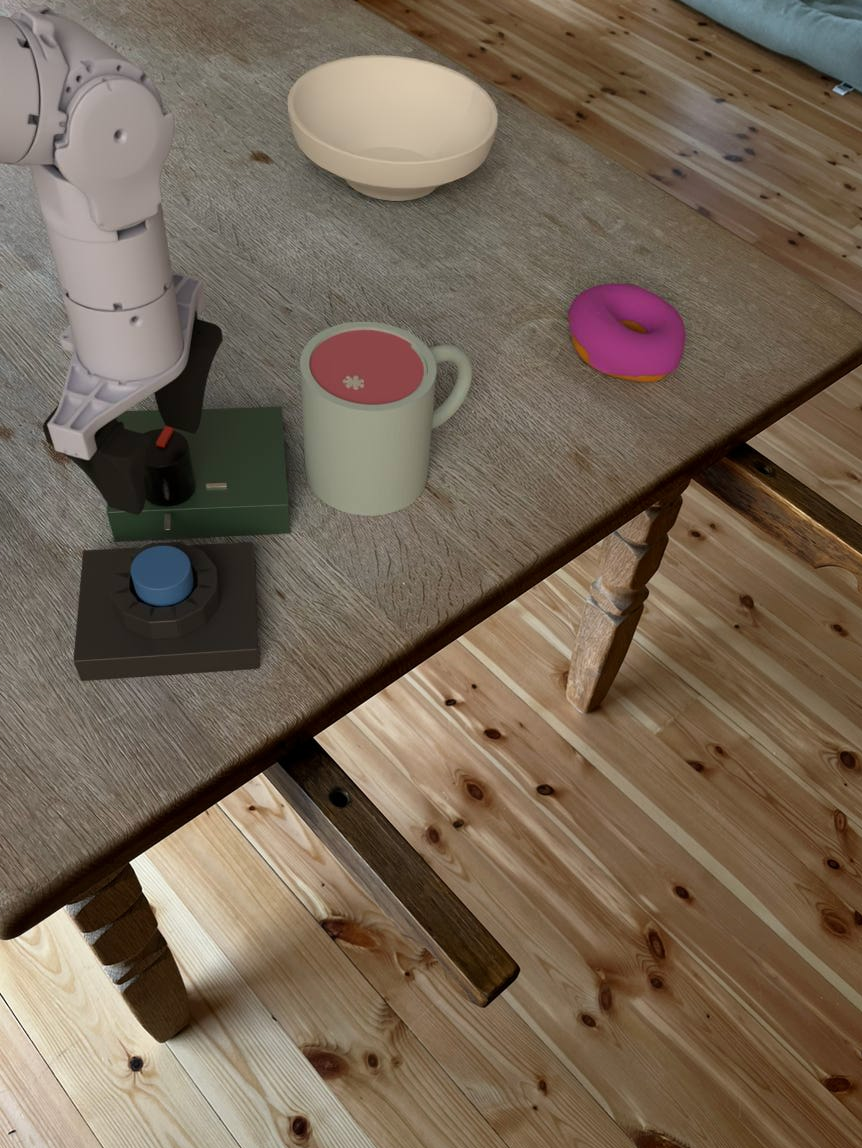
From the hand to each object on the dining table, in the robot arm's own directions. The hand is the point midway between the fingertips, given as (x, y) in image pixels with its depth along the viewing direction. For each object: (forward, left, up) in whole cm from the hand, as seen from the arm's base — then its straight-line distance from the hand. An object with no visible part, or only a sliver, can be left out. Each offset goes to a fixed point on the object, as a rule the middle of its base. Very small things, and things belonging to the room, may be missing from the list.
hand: (155, 465), depth 66 cm
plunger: (0, -6, -5) cm, 7 cm away
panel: (+2, +6, -8) cm, 10 cm away
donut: (+37, +20, -8) cm, 43 cm away
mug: (+16, +8, -8) cm, 20 cm away
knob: (0, +3, -5) cm, 6 cm away
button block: (0, -6, -8) cm, 10 cm away
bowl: (+20, +47, -8) cm, 52 cm away
